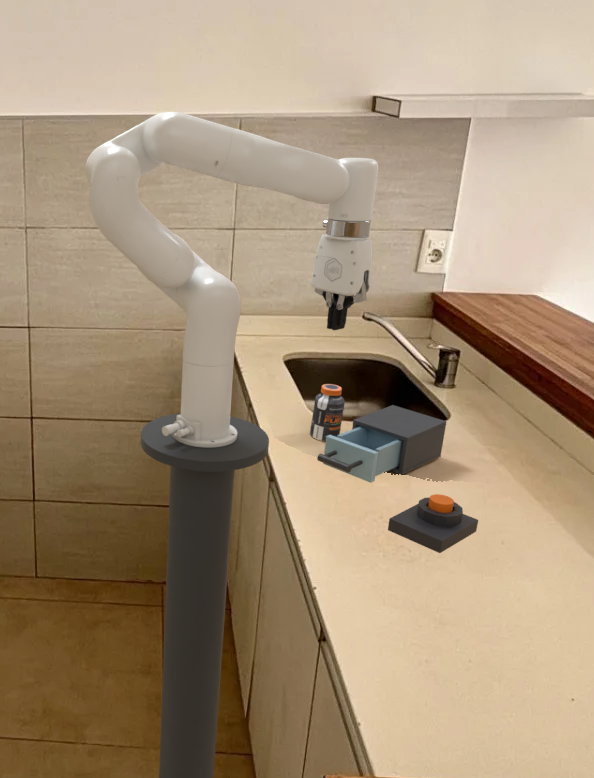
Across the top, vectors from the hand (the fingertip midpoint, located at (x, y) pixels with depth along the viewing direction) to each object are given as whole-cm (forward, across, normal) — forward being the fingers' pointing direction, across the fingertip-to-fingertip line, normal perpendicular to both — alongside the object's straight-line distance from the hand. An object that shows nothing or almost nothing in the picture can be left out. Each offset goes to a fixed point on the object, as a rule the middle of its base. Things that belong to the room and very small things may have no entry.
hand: (335, 328), depth 144 cm
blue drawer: (+25, +9, -1) cm, 27 cm away
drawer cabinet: (+26, +9, +12) cm, 30 cm away
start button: (+22, +30, -8) cm, 38 cm away
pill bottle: (+26, -6, +8) cm, 28 cm away
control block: (+26, +30, -10) cm, 41 cm away
